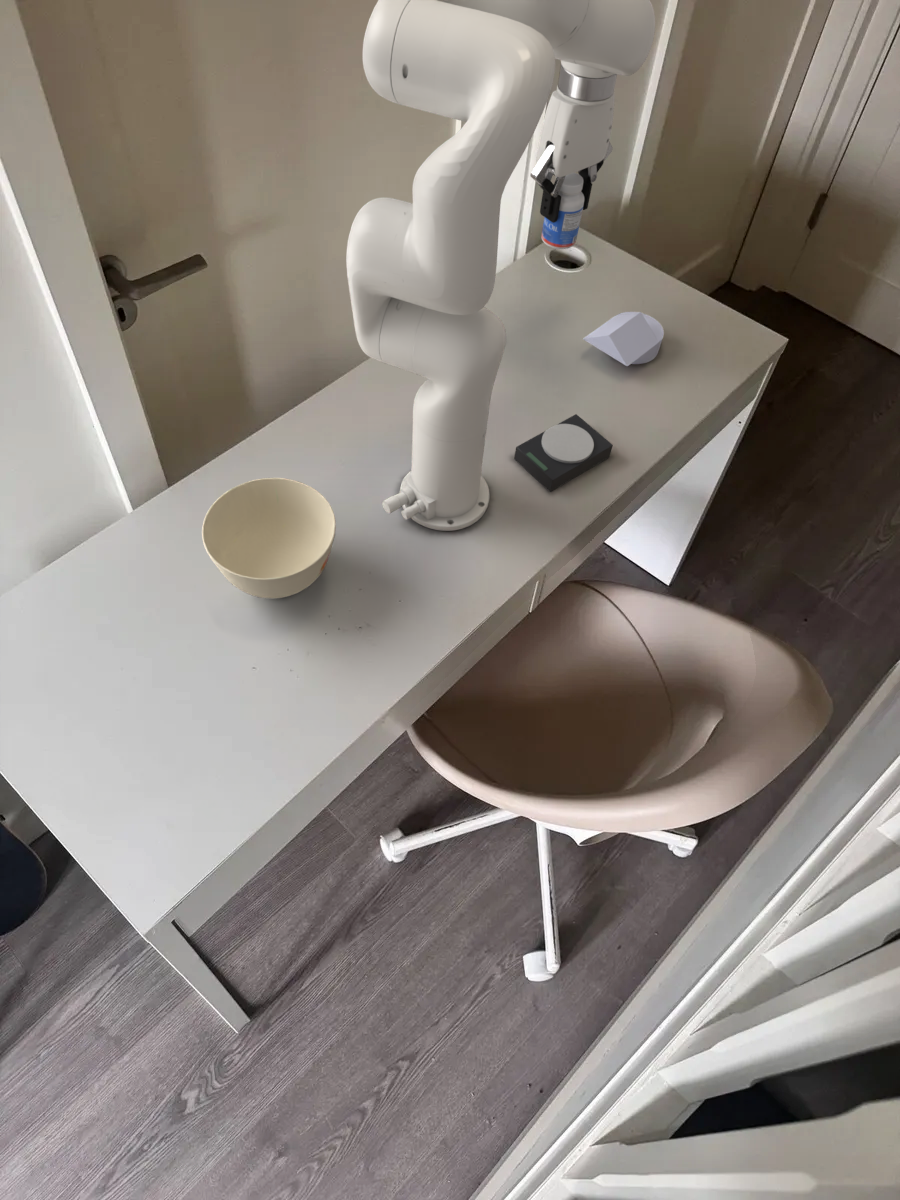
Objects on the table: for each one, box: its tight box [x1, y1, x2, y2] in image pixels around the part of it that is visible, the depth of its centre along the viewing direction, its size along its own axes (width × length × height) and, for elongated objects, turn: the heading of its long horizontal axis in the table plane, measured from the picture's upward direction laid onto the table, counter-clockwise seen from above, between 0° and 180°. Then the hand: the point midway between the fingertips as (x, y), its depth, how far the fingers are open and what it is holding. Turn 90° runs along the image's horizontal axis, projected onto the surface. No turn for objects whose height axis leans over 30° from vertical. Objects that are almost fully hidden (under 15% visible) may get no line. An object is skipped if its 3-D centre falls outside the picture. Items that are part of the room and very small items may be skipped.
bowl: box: [201, 477, 337, 599], centre depth 108 cm, size 16×16×10 cm
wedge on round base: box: [582, 311, 665, 367], centre depth 139 cm, size 9×7×13 cm
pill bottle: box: [541, 172, 584, 250], centre depth 127 cm, size 6×5×10 cm
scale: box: [513, 413, 614, 493], centre depth 126 cm, size 12×8×3 cm, turn 128°
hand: (563, 210), depth 127 cm, fingers closed on pill bottle, 5 cm apart
